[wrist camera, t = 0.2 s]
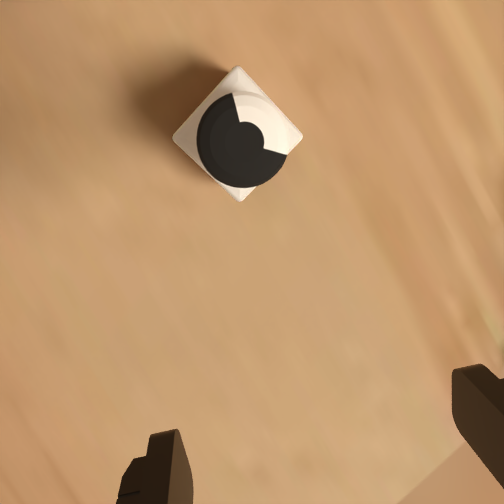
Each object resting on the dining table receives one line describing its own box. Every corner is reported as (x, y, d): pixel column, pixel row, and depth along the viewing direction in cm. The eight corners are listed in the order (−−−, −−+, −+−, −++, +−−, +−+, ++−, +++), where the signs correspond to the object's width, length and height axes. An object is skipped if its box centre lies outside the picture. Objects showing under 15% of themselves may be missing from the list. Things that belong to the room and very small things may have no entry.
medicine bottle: (234, 188, 38) (245, 220, 27) (176, 133, 36) (162, 143, 25) (288, 132, 37) (323, 141, 26) (231, 71, 35) (243, 53, 24)
